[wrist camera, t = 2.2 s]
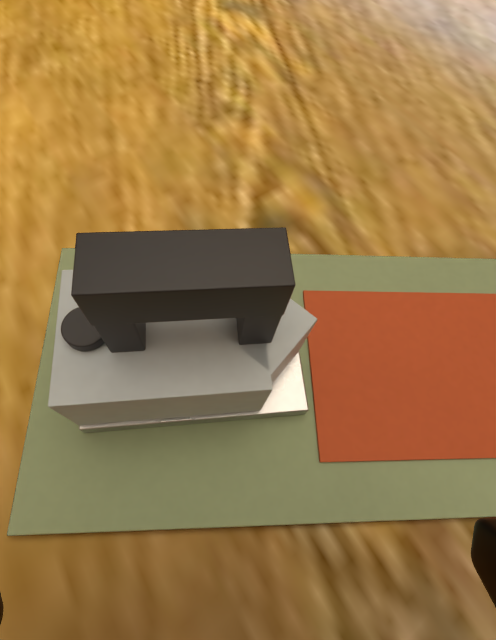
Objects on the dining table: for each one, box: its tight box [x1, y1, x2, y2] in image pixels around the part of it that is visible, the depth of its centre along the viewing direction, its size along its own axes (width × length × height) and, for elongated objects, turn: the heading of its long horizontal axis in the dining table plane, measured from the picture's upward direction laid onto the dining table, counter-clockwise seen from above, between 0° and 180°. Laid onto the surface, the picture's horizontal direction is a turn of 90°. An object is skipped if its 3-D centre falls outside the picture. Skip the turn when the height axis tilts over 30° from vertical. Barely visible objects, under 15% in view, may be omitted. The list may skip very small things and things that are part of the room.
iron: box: [48, 228, 317, 433], centre depth 17 cm, size 11×6×10 cm, turn 96°
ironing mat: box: [7, 248, 496, 536], centre depth 22 cm, size 28×15×1 cm, turn 92°
